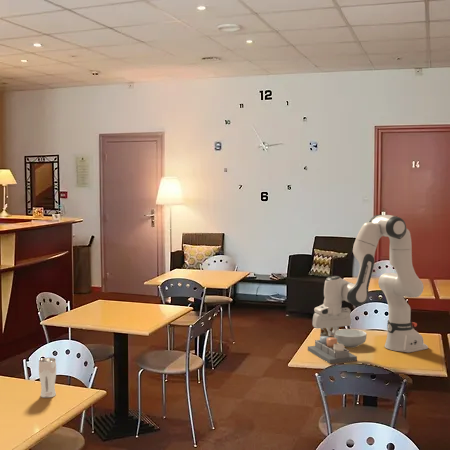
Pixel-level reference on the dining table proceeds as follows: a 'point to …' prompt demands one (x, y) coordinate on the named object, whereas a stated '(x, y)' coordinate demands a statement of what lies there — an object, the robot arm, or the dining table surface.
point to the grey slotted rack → (331, 353)
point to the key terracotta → (331, 342)
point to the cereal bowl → (350, 337)
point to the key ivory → (338, 347)
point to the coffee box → (325, 332)
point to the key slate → (323, 339)
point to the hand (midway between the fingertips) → (331, 335)
